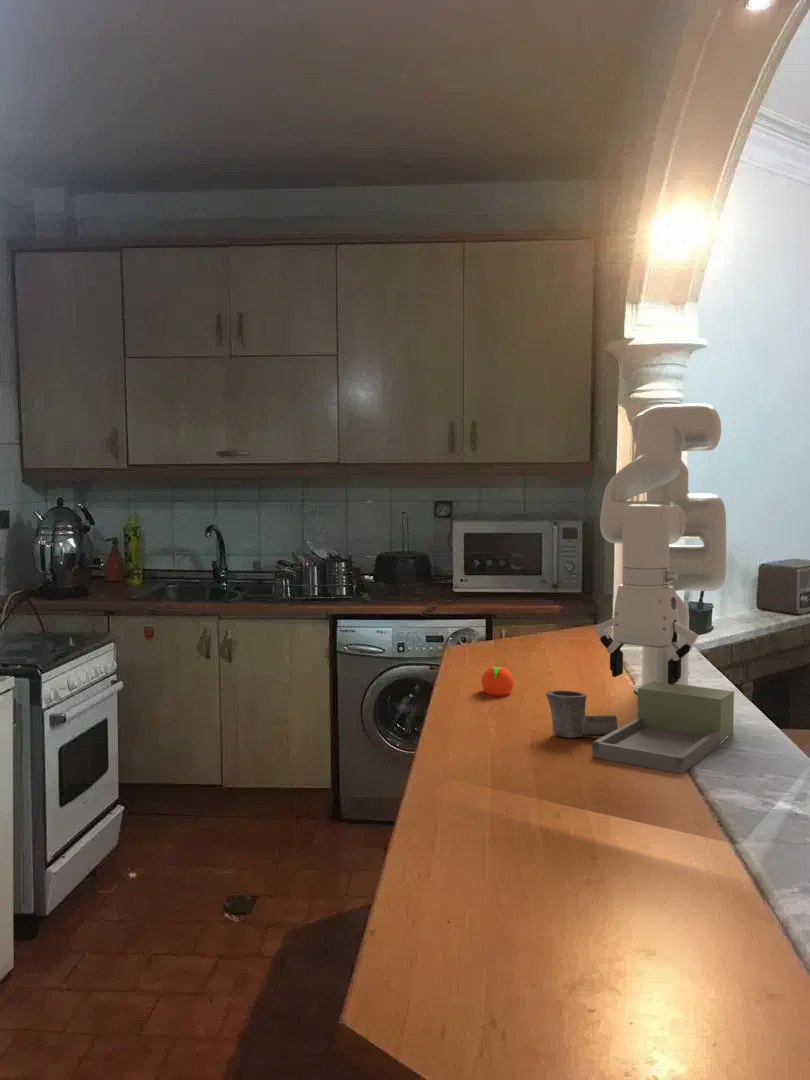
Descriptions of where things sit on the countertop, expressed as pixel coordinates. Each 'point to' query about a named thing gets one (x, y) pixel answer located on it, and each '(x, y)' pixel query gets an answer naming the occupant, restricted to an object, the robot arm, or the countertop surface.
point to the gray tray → (670, 727)
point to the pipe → (576, 716)
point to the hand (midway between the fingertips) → (644, 679)
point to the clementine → (497, 681)
